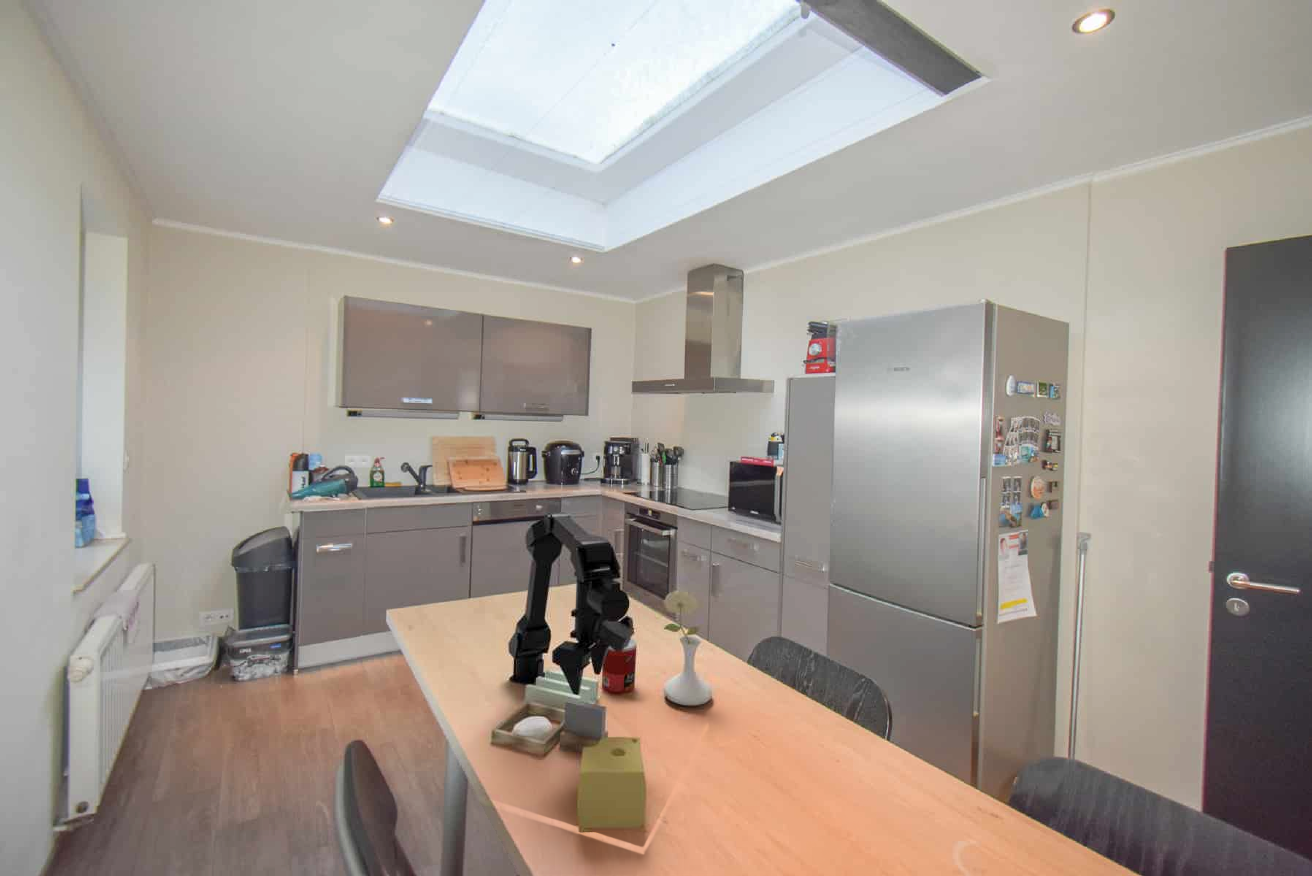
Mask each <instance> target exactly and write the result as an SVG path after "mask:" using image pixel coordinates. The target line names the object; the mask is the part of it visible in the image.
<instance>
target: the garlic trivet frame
mask: <svg viewBox="0 0 1312 876" xmlns="http://www.w3.org/2000/svg"><path fill="white" fill-rule="evenodd" d="M522 704H523V705H522ZM522 704H521V705H522V706H519V707H518V708H517V709H516V710H514V711H513V712H512V713H511V714H510V715H509V716H507V717H506V718H505V719H503V720H502V721H501V722H500V723H499V724H498V725H496V726H495V727H494V728H492V729H491V739H490V740H491V742H492V743H495V744H498V745H502V746H506V747H508V748H514V749H517V750H519V751H520V750H521V751H524V752H527V753H531V754H534V755H538V756H541V757H544V756H545V755H546V754H547V753H549V751H550V750H551V749H552V748H553V747H554V746H555V745H556V744H557V743H558V742H560V734H561V733H562V732H563V731H564V722H565V710H563V709H559V708H554V707H550V706H546V705H542V704H538V703H534V702H530V701H527V702H525V701H524V702H523V703H522ZM527 715H531V716H541V717H545V718H547V719H548V720H551V721H555V722H559V724H558V725H557V726H556V727H554V728H553V731H552V732H551V733H550V734H549V735H548V736H547V737H546V738H545V739H544V740H543V741H540V740H536V739H533V738H529V737H525V736H521V735H518V734H514V733H512V732H511V731H510V730H511V729H513V728H514V726H515V724H517V723H519V722H521V721H522V720H524V719H525V717H526V716H527ZM509 731H510V732H509Z"/></svg>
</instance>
